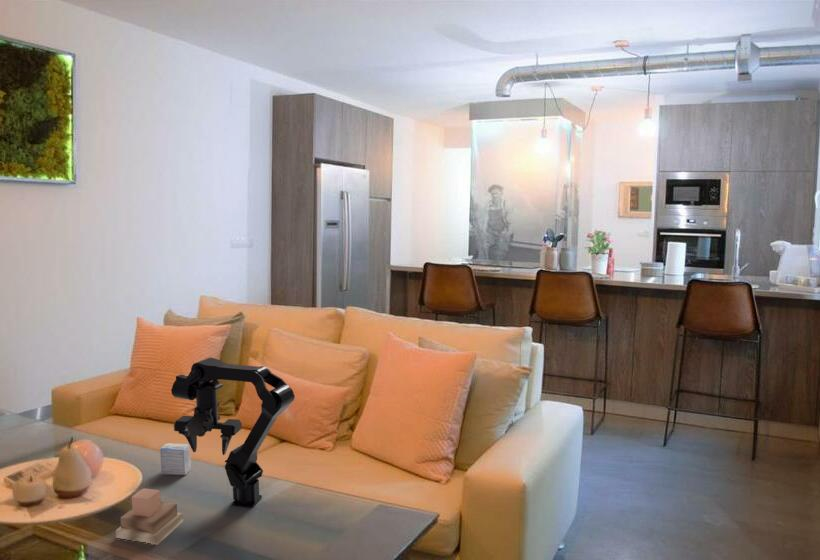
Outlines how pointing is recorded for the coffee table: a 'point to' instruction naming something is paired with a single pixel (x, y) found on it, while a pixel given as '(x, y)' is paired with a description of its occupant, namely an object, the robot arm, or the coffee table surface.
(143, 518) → the walnut slab
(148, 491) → the terracotta block
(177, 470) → the medicine box
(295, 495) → the coffee table surface
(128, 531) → the birch slab
